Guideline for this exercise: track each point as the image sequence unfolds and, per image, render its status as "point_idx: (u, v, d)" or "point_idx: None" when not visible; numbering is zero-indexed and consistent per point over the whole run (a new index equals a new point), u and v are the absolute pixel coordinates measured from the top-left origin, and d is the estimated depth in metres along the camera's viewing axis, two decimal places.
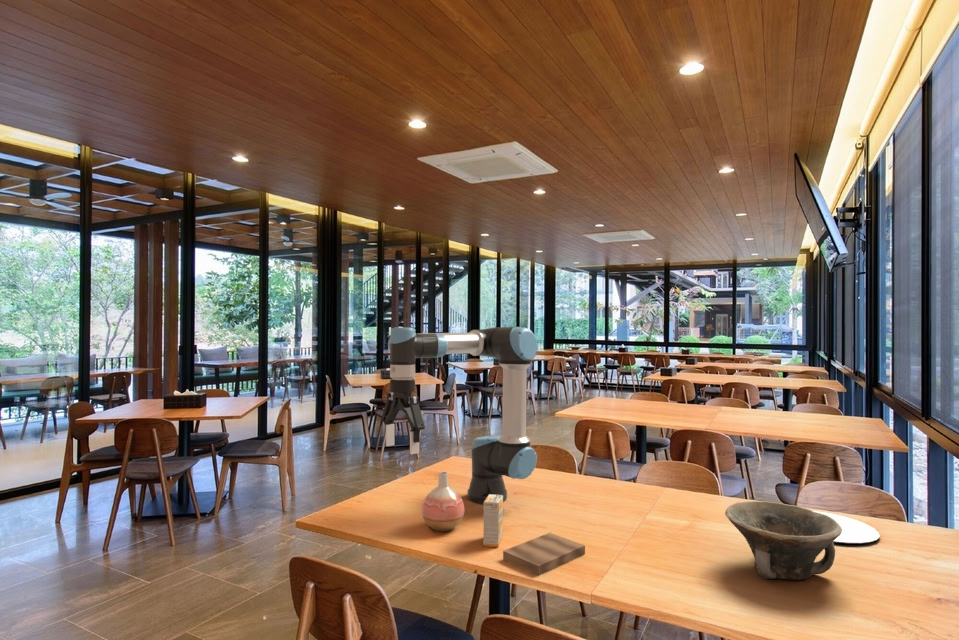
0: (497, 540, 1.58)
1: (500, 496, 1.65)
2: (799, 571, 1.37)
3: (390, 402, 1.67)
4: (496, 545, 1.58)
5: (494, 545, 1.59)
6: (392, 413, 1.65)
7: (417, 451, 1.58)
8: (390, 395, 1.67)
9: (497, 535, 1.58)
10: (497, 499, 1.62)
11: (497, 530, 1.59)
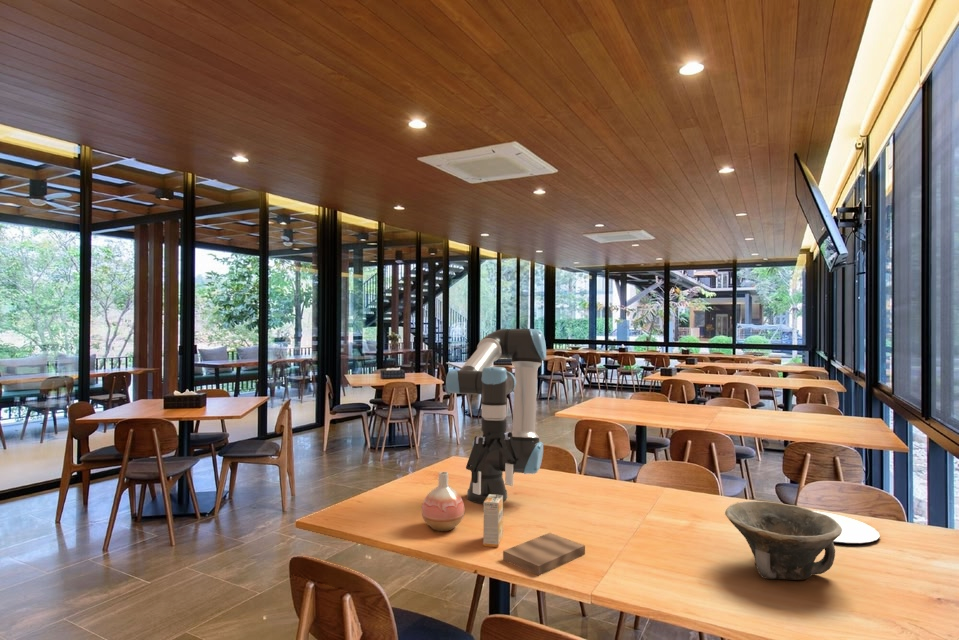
0: (497, 540, 1.58)
1: (500, 496, 1.65)
2: (799, 571, 1.37)
3: (506, 441, 1.68)
4: (496, 545, 1.58)
5: (494, 545, 1.59)
6: (501, 452, 1.66)
7: (477, 492, 1.57)
8: (505, 434, 1.68)
9: (497, 535, 1.58)
10: (497, 499, 1.62)
11: (497, 530, 1.59)
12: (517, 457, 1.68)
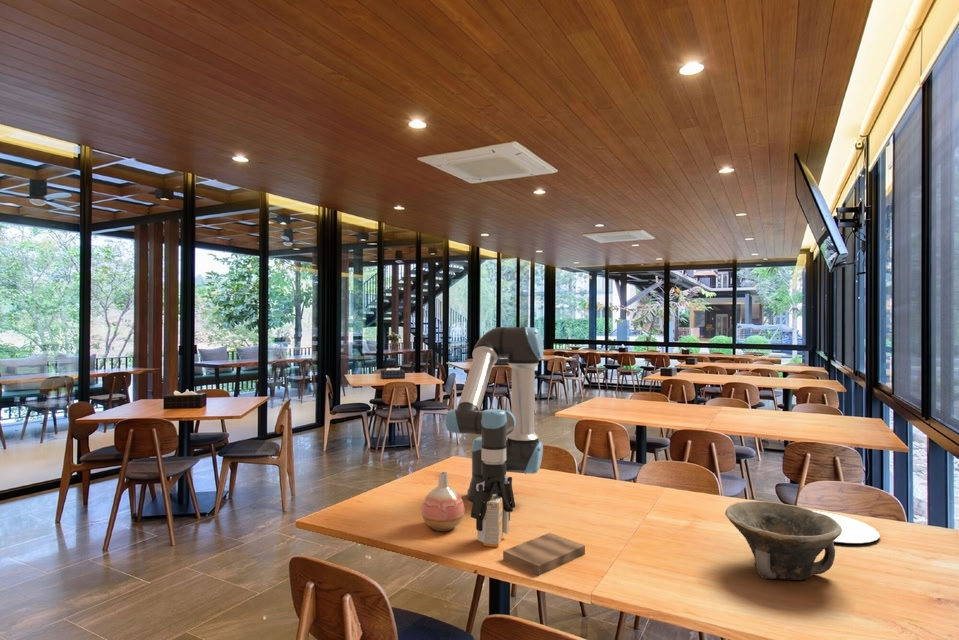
0: (497, 540, 1.58)
1: (500, 496, 1.65)
2: (799, 571, 1.37)
3: (505, 485, 1.67)
4: (496, 545, 1.58)
5: (494, 545, 1.59)
6: None
7: (482, 540, 1.59)
8: None
9: (497, 535, 1.59)
10: (497, 499, 1.62)
11: (497, 530, 1.59)
12: (513, 504, 1.67)
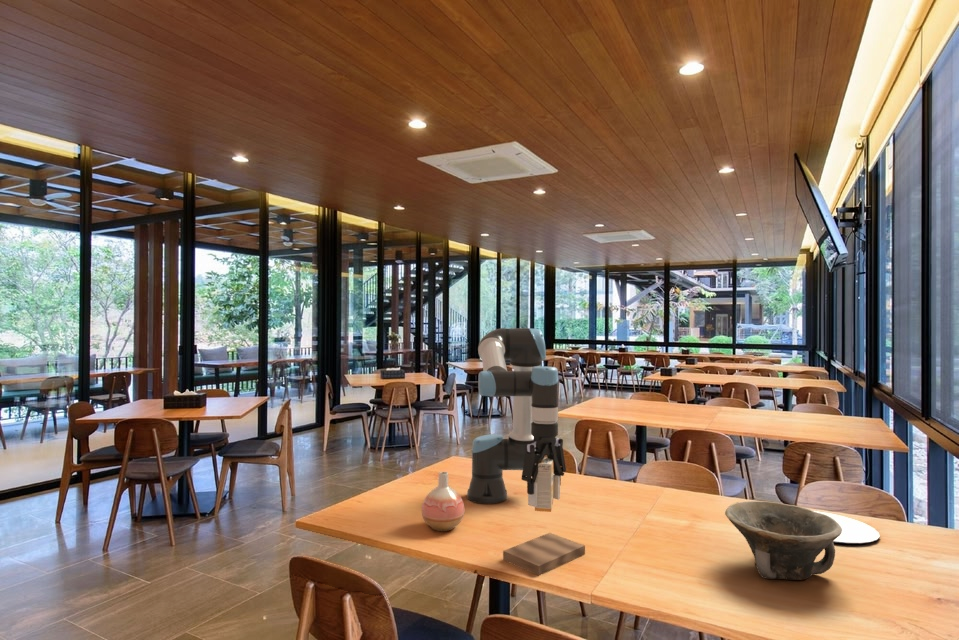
0: (550, 504, 1.48)
1: (551, 459, 1.54)
2: (799, 571, 1.37)
3: (555, 448, 1.57)
4: (549, 509, 1.48)
5: (546, 509, 1.48)
6: None
7: (533, 504, 1.48)
8: None
9: (550, 499, 1.48)
10: (549, 461, 1.51)
11: (550, 493, 1.48)
12: (564, 468, 1.57)
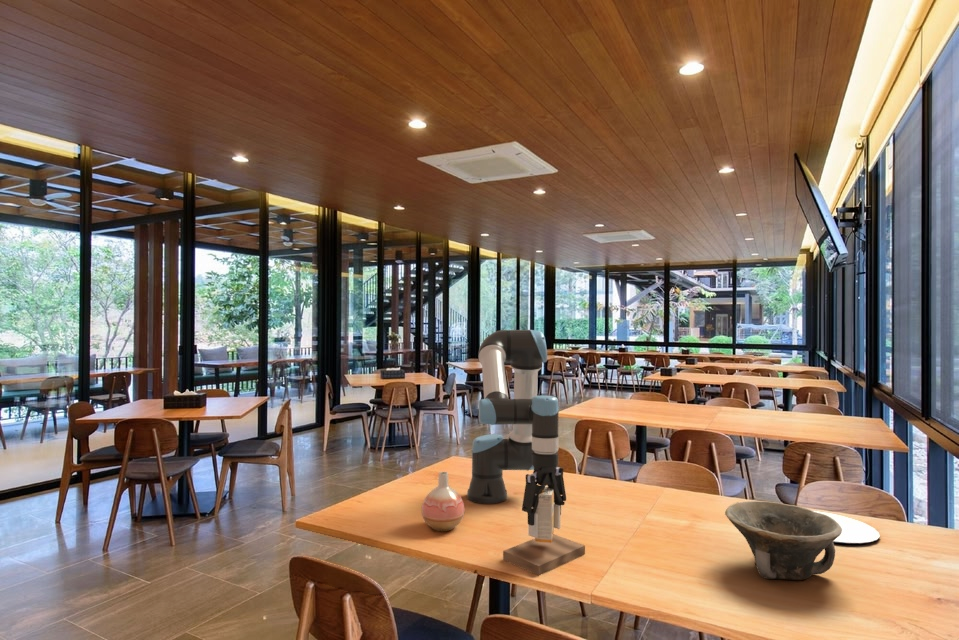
0: (550, 535, 1.48)
1: None
2: (799, 571, 1.37)
3: (556, 477, 1.56)
4: (549, 540, 1.48)
5: (547, 540, 1.48)
6: None
7: (534, 535, 1.48)
8: None
9: (550, 530, 1.48)
10: (549, 491, 1.51)
11: (550, 524, 1.48)
12: (564, 497, 1.56)
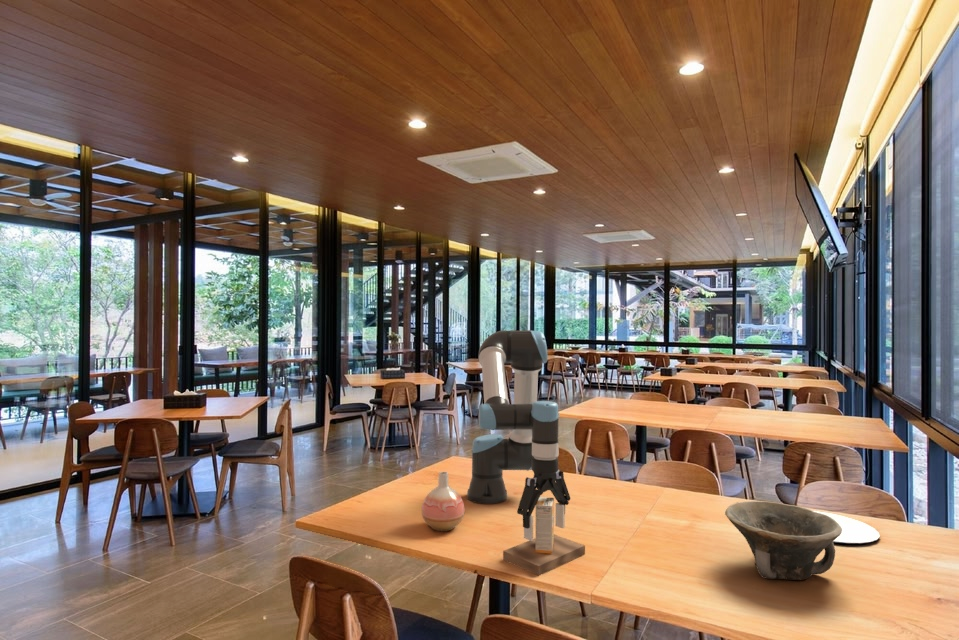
0: (550, 546, 1.48)
1: (551, 499, 1.54)
2: (799, 571, 1.37)
3: (557, 480, 1.57)
4: (549, 551, 1.48)
5: (547, 551, 1.48)
6: (552, 492, 1.56)
7: (529, 538, 1.47)
8: None
9: (550, 541, 1.48)
10: (549, 502, 1.51)
11: (550, 535, 1.48)
12: (568, 497, 1.58)
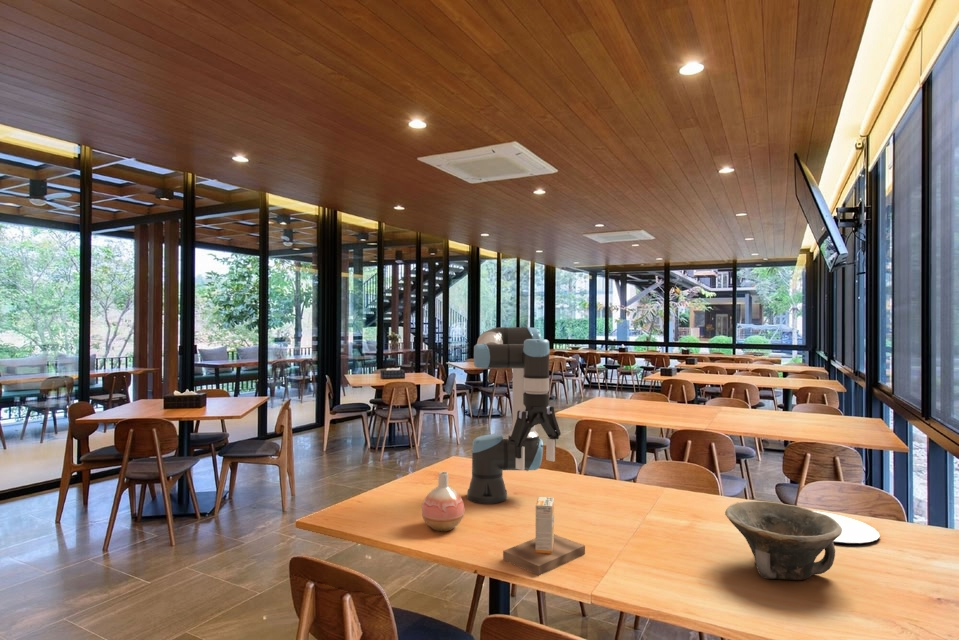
0: (550, 546, 1.48)
1: (551, 499, 1.54)
2: (799, 571, 1.37)
3: (548, 416, 1.62)
4: (549, 551, 1.48)
5: (547, 551, 1.48)
6: (543, 426, 1.61)
7: (521, 468, 1.52)
8: None
9: (550, 541, 1.48)
10: (549, 502, 1.51)
11: (550, 535, 1.48)
12: (558, 432, 1.63)
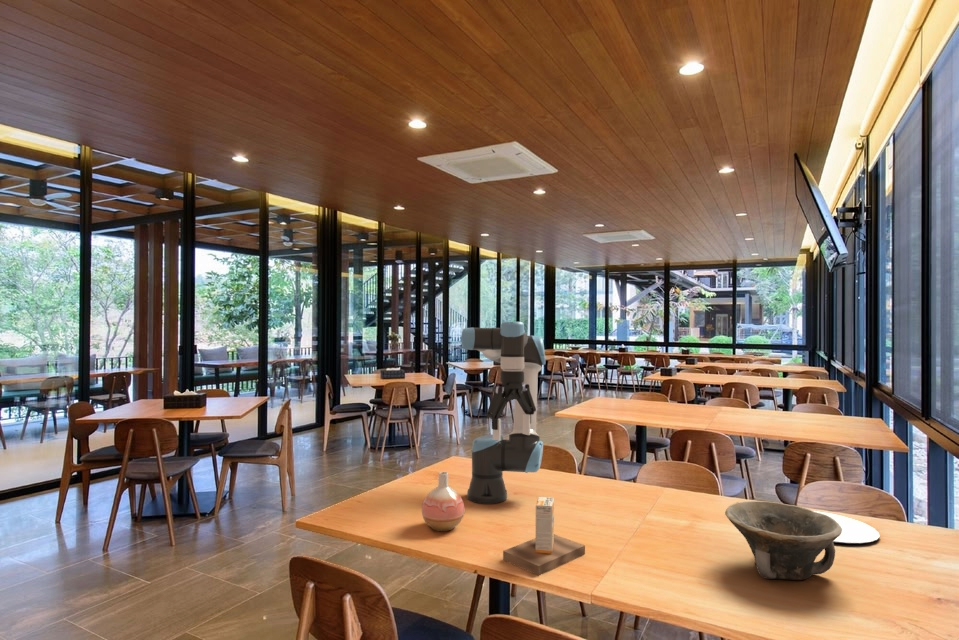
0: (550, 546, 1.48)
1: (551, 499, 1.54)
2: (799, 571, 1.37)
3: (524, 393, 1.76)
4: (549, 551, 1.48)
5: (547, 551, 1.48)
6: (519, 402, 1.75)
7: (497, 438, 1.66)
8: None
9: (550, 541, 1.48)
10: (549, 502, 1.51)
11: (550, 535, 1.48)
12: (534, 408, 1.77)
